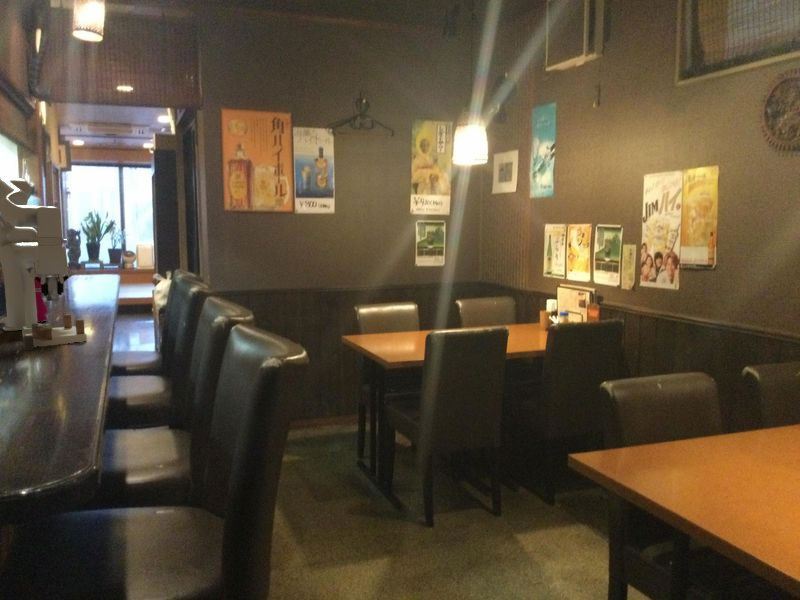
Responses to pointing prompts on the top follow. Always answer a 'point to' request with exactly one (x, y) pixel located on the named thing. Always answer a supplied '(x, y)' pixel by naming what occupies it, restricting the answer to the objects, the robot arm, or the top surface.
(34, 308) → the robot arm
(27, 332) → the seat board
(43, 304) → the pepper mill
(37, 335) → the hinged leg
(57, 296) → the leg peg
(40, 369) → the top surface
